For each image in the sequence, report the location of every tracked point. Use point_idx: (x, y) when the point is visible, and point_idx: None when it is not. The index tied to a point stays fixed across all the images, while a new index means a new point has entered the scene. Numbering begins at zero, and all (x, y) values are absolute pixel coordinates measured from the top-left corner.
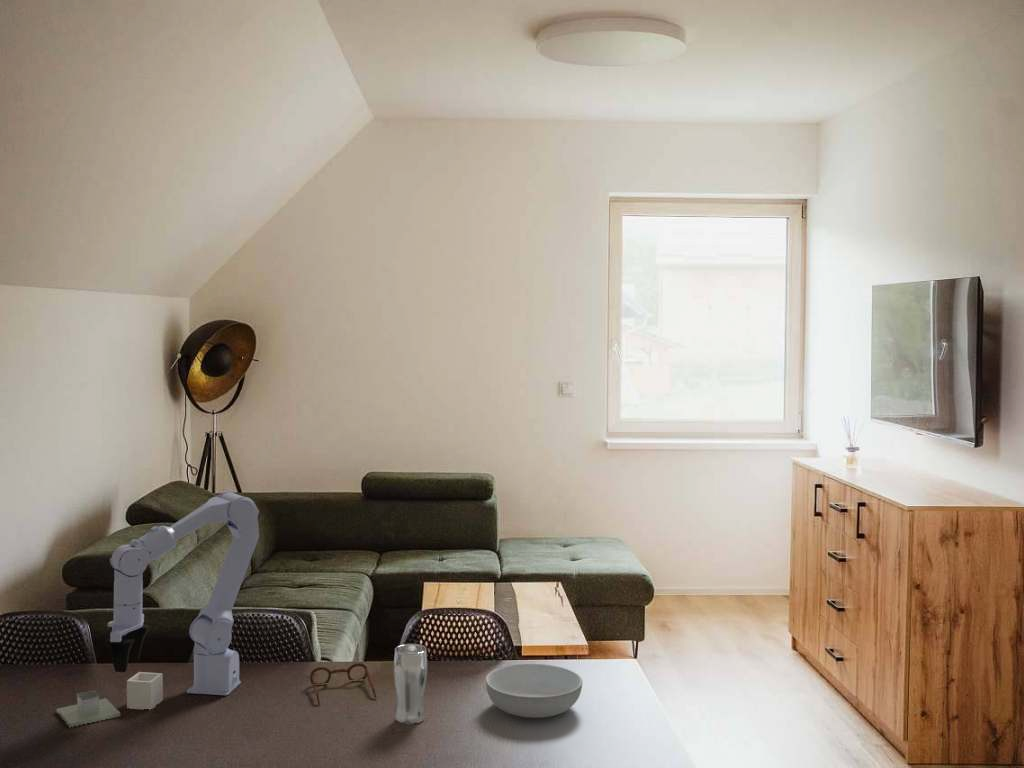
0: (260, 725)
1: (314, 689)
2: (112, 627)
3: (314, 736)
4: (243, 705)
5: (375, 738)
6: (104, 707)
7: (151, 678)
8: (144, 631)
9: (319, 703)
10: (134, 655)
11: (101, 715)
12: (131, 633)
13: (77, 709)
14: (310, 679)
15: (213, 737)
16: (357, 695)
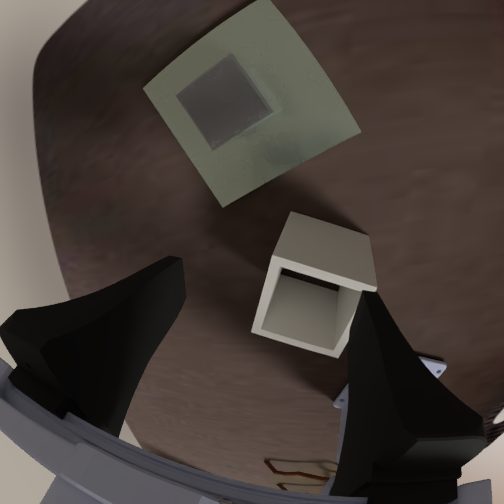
0: (197, 416)
1: (301, 472)
2: (13, 440)
3: (174, 438)
4: (279, 415)
5: (179, 460)
6: (269, 146)
7: (345, 316)
8: (335, 487)
9: (266, 464)
10: (354, 334)
11: (201, 156)
12: (364, 442)
13: (254, 61)
14: None
15: (147, 368)
16: (296, 481)
